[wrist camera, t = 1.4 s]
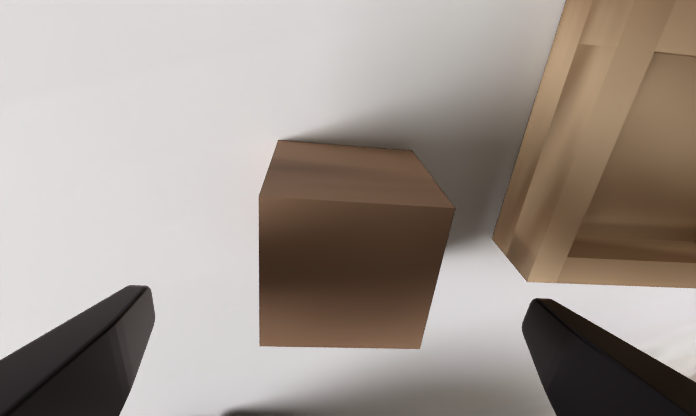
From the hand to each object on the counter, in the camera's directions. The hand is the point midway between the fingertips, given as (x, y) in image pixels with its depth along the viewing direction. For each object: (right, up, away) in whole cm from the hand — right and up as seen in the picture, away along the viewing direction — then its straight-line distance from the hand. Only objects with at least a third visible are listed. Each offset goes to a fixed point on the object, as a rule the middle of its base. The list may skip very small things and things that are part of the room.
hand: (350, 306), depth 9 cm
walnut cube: (0, +2, +5) cm, 5 cm away
